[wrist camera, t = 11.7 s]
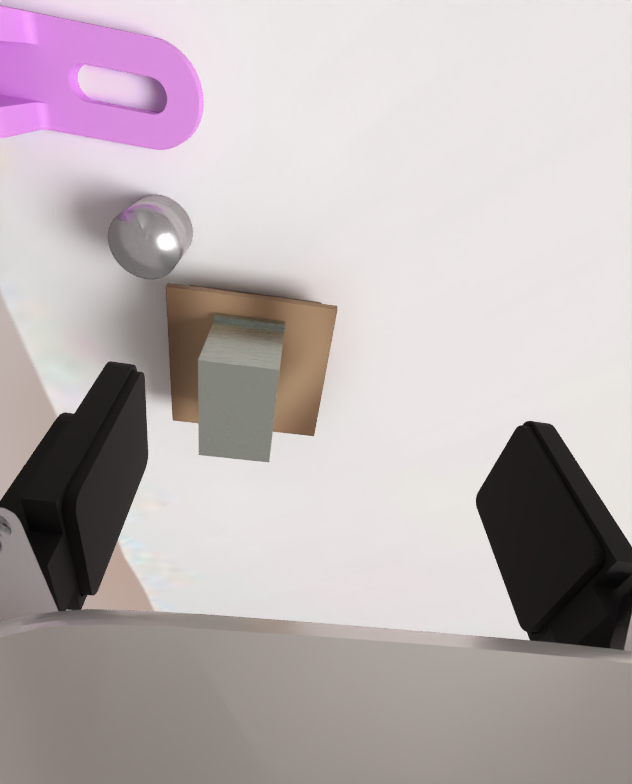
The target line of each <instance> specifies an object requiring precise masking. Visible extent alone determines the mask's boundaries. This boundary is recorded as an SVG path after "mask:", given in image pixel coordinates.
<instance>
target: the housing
mask: <svg viewBox="0 0 632 784" xmlns="http://www.w3.org/2000/svg"><path fill="white" fill-rule="evenodd" d="M285 323H286V321H278V320H270V319H263V318H255V317H247V316H240V315H232V314H224V313H217V312H216V314H215V316H214V322H213V325H212V327H211V330H210V332H209V334H208V337H207V339H206V342H205V344H204V347H203V349H202V352H201V354H200V356H199V359H198V410H199V455H205V456H215V457H224V458H233V459H243V460H252V461H262V462H269V458H270V450H271V442H272V434H273V426H274V418H275V410H276V401H277V393H278V384H279V375H280V366H281V358H282V349H283V340H284V331H285Z"/></svg>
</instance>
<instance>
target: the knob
mask: <svg viewBox="0 0 632 784" xmlns="http://www.w3.org/2000/svg"><path fill="white" fill-rule="evenodd" d="M192 237H193V228H192V224H191V221H190V218H189V216H188V215H187V213H186V211H185V210H184V209H183V208H182V207H181V206H180V205H179V204H178V203H177V202H175V201H174V200H172V199H170V198H168V197H165V196H162V195H148V196H145V197H143V198H141V199H139V200H138V201H137V202H135V203H134V204H133V205H131V206H130V207H129V208H127V209H126V210H125V211H123V212H122V213H121V214H119V215H118V216H117V217H116V218H115V219H114V220H113V222H112V223H111V225H110V228H109V232H108V242H109V247H110V250H111V252H112V254H113V256H114V258H115V259H116V261H117V262H118V263H119V264H120V265H121V266H122V267H123V268H124V269H125V270H126V271H128V272H129V273H131V274H133V275H135V276H137V277H140V278H145V279H157V278H161V277H164V276H166V275H167V274H169V273H170V272H171V271H172V270H173V269H174V267H175V266H176V264H177V263H178V262H179V260H180V259H181V257H182V256H183V255H184V253H185V252H186V250H187V249H188V248H189V246H190V244H191V241H192Z"/></svg>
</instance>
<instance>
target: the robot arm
mask: <svg viewBox="0 0 632 784" xmlns="http://www.w3.org/2000/svg"><path fill="white" fill-rule="evenodd" d="M147 460H148V441H147V419H146V398H145V377H144V373H143V372H137V369H136V366H135V365H132V364H125V363H118V362H108V363H107V364H106V365H105V367H104V368H103V370H102V372H101V373H100V375H99V376H98V378H97V379H96V381H95V382H94V384H93V386H92V387H91V389H90V390H89V392H88V393H87V395H86V396H85V398H84V400H83V401H82V403H81V404H80V406H79V407H78V409H77V410H76V412H75V414H72V413H62V414H60V415H59V417H58V418H57V419H56V420H55V422H54V423H53V424H52V426H51V427H50V429H49V431H48V432H47V433H46V435H45V436H44V438H43V439H42V441H41V442H40V444H39V445H38V446H37V448H36V449H35V451H34V452H33V454H32V455H31V457H30V458H29V460H28V461H27V463H26V464H25V465H24V467H23V469H22V470H21V471H20V473H19V474H18V476H17V477H16V479H15V480H14V482H13V483H12V485H11V486H10V488H9V489H8V490H7V492H6V493H5V495H4V496H3V498H2V499H1V501H0V784H632V547H631V545H630V543H629V542H628V540H627V539H626V537H625V536H624V534H623V533H622V531H621V530H620V528H619V526H618V525H617V523H616V522H615V520H614V519H613V517H612V516H611V514H610V512H609V511H608V509H607V508H606V506H605V505H604V503H603V502H602V500H601V499H600V497H599V495H598V494H597V492H596V491H595V489H594V488H593V486H592V485H591V483H590V482H589V480H588V478H587V477H586V475H585V474H584V472H583V471H582V469H581V468H580V466H579V465H578V463H577V461H576V460H575V458H574V457H573V455H572V454H571V452H570V451H569V449H568V447H567V446H566V444H565V443H564V441H563V440H562V438H561V437H560V435H559V434H558V432H557V430H556V429H555V428H554V426H553V425H551V424H547V423H540V422H533V421H527V422H525V423H524V424H523V425H522V426H518V427H517V428H516V429H515V431H514V433H513V434H512V436H511V438H510V440H509V441H508V443H507V445H506V446H505V448H504V450H503V451H502V453H501V455H500V456H499V458H498V460H497V461H496V463H495V465H494V467H493V468H492V470H491V472H490V473H489V475H488V477H487V478H486V480H485V482H484V483H483V485H482V487H481V488H480V490H479V492H478V494H477V497H476V506H477V509H478V512H479V515H480V517H481V520H482V523H483V526H484V528H485V531H486V534H487V537H488V539H489V542H490V545H491V548H492V550H493V553H494V556H495V559H496V561H497V564H498V567H499V569H500V572H501V575H502V578H503V580H504V583H505V586H506V589H507V591H508V594H509V597H510V600H511V602H512V605H513V608H514V611H515V613H516V616H517V619H518V622H519V624H520V626H521V628H522V629H523V630H524V631H527V633H528V636H529V639H530V641H529V640H518V639H506V638H495V637H483V636H472V635H460V634H448V633H436V632H424V631H412V630H399V629H387V628H375V627H362V626H350V625H337V624H325V623H312V622H299V621H285V620H272V619H259V618H246V617H233V616H219V615H206V614H189V613H172V612H155V611H137V610H93V609H90V610H89V609H85V610H81V609H82V606H83V604H84V601H85V599H86V597H87V595H95V594H96V593H97V591H98V588H99V586H100V584H101V581H102V579H103V576H104V574H105V571H106V568H107V566H108V563H109V561H110V558H111V556H112V553H113V551H114V548H115V545H116V543H117V540H118V538H119V535H120V533H121V530H122V527H123V525H124V522H125V520H126V517H127V515H128V512H129V509H130V507H131V504H132V502H133V499H134V497H135V494H136V492H137V489H138V486H139V484H140V481H141V479H142V476H143V474H144V471H145V468H146V465H147ZM66 609H68V610H71V611H66Z"/></svg>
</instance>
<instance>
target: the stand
mask: <svg viewBox="0 0 632 784" xmlns="http://www.w3.org/2000/svg"><path fill="white" fill-rule="evenodd" d="M166 298H167V317H168V337H169V357H170V376H171V396H172V415H173V420H175V421H183V422H192V423H199V410H198V359H199V356H200V354H201V352H202V349H203V347H204V344H205V342H206V339H207V337H208V334H209V332H210V330H211V327H212V325H213V322H214V316H215V314H216V312H217V313H224V314H232V315H240V316H247V317H255V318H263V319H270V320H278V321H286V323H285V331H284V340H283V349H282V358H281V366H280V375H279V384H278V393H277V401H276V410H275V418H274V426H273V432H282V433H291V434H300V435H309V436H314V433H315V427H316V422H317V417H318V411H319V406H320V400H321V395H322V390H323V384H324V379H325V373H326V368H327V363H328V357H329V352H330V346H331V341H332V336H333V330H334V325H335V319H336V314H337V306H333V305H326V304H321V303H319V302H311V301H304V300H297V299H289V298H282V297H274V296H267V295H259V294H252V293H245V292H237V291H230V290H222V289H215V288H207V287H200V286H193V285H191V286H184V285H177V284H169V283H168V284H167V286H166Z"/></svg>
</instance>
